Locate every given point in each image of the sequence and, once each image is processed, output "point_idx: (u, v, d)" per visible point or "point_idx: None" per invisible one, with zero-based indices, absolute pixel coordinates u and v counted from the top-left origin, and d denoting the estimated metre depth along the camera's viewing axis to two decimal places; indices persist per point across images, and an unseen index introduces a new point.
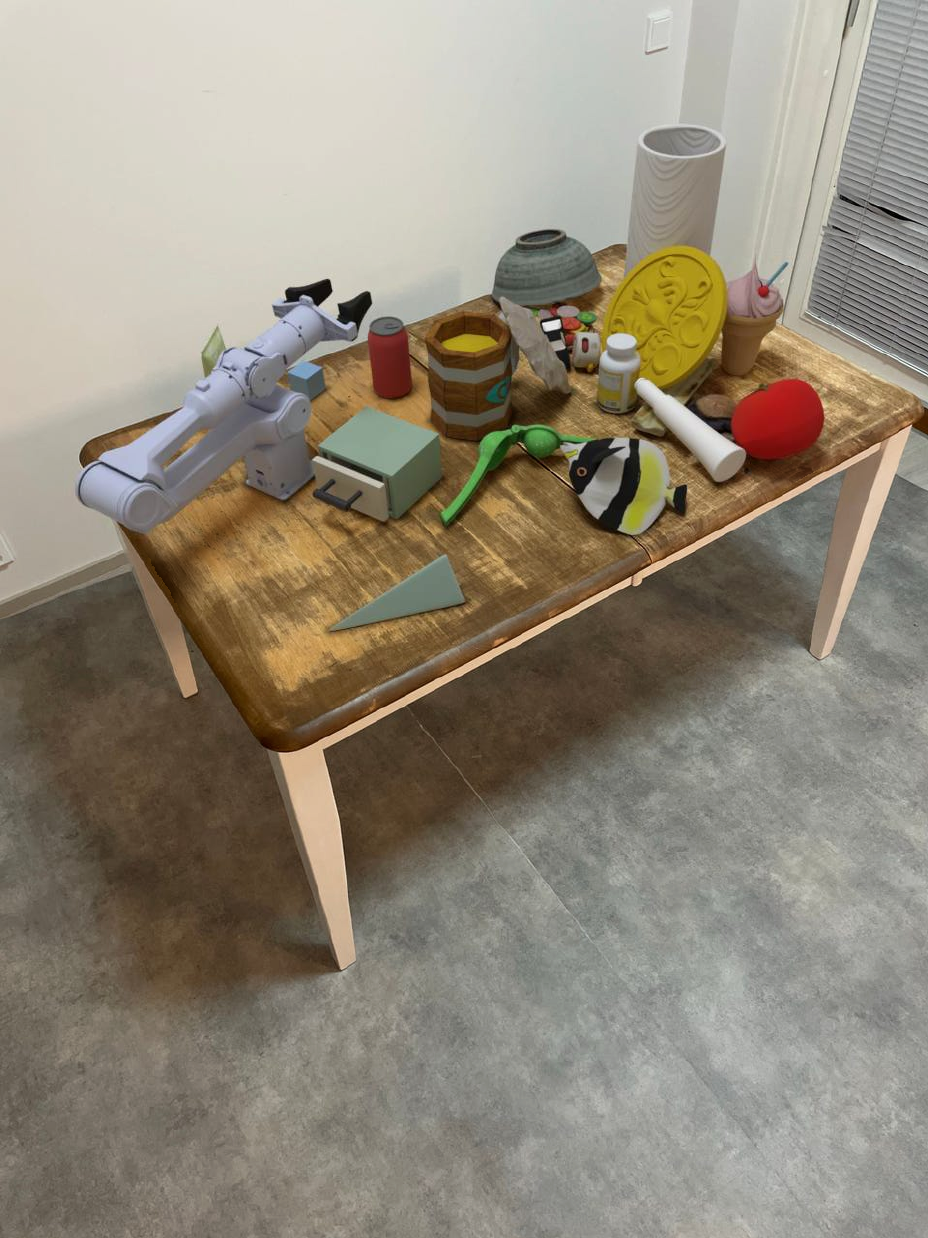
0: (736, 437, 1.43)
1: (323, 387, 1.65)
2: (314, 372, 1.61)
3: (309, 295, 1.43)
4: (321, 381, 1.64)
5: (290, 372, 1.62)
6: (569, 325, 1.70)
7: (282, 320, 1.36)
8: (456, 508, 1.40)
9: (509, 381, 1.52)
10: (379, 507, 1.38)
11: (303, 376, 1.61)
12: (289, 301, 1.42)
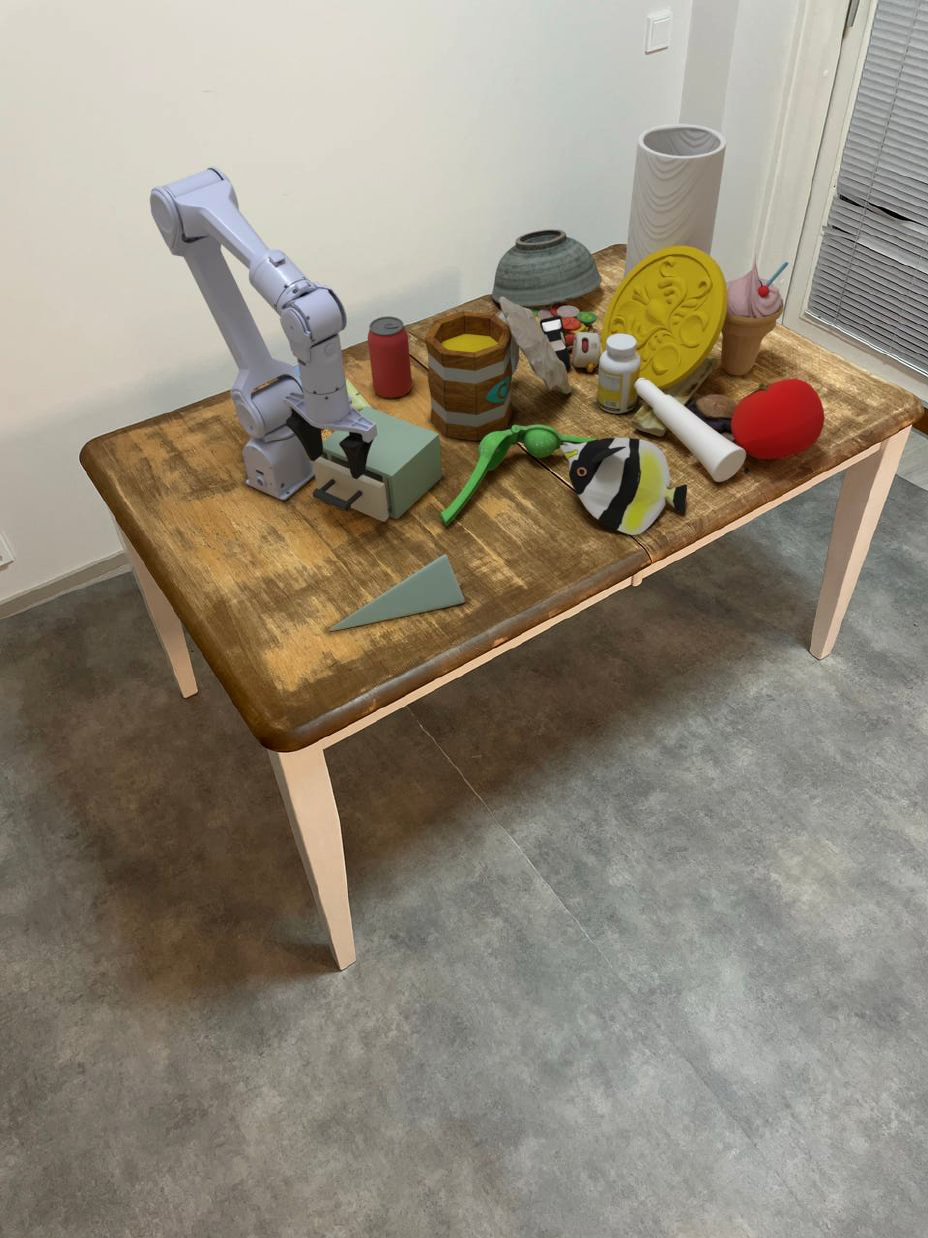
0: (736, 437, 1.43)
1: None
2: None
3: (316, 426, 1.34)
4: None
5: None
6: (569, 325, 1.70)
7: None
8: (456, 508, 1.40)
9: (509, 381, 1.52)
10: (379, 507, 1.38)
11: None
12: None
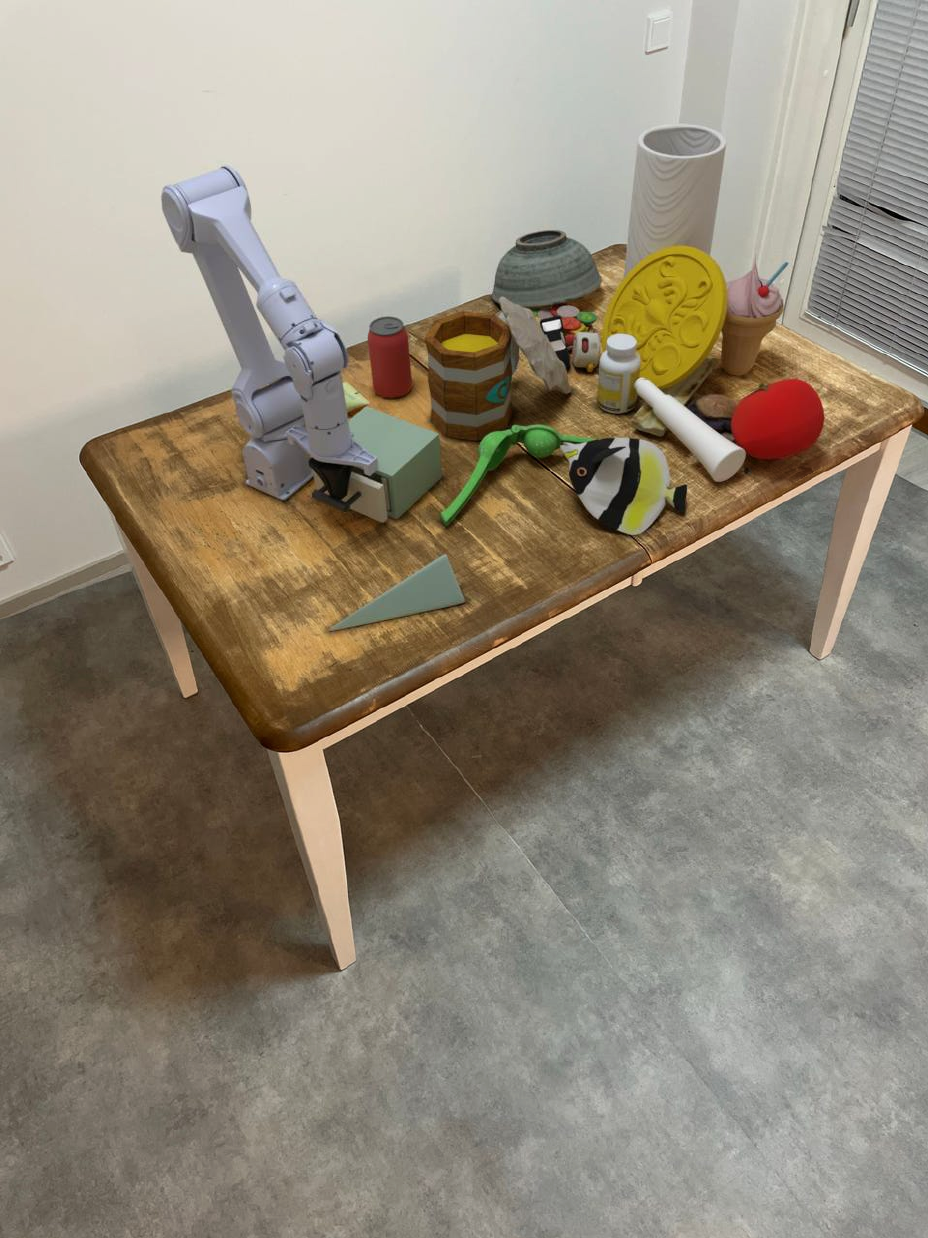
0: (736, 437, 1.43)
1: None
2: None
3: None
4: None
5: None
6: (569, 325, 1.70)
7: None
8: (456, 508, 1.40)
9: (509, 381, 1.52)
10: (378, 508, 1.38)
11: None
12: None
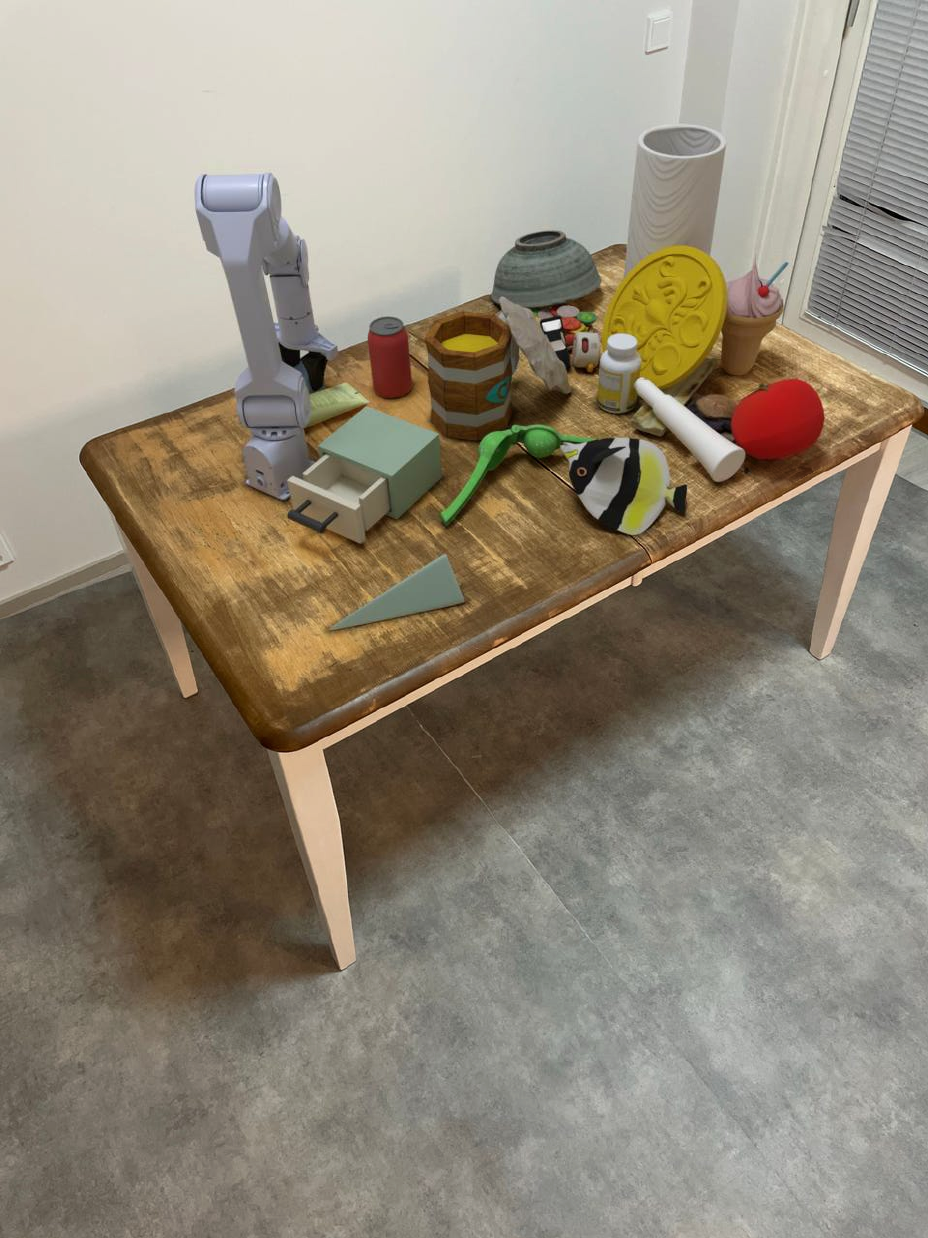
0: (736, 437, 1.43)
1: (323, 387, 1.65)
2: None
3: (296, 353, 1.62)
4: None
5: None
6: (569, 325, 1.70)
7: None
8: (456, 508, 1.40)
9: (509, 381, 1.52)
10: (355, 529, 1.35)
11: (302, 376, 1.61)
12: None
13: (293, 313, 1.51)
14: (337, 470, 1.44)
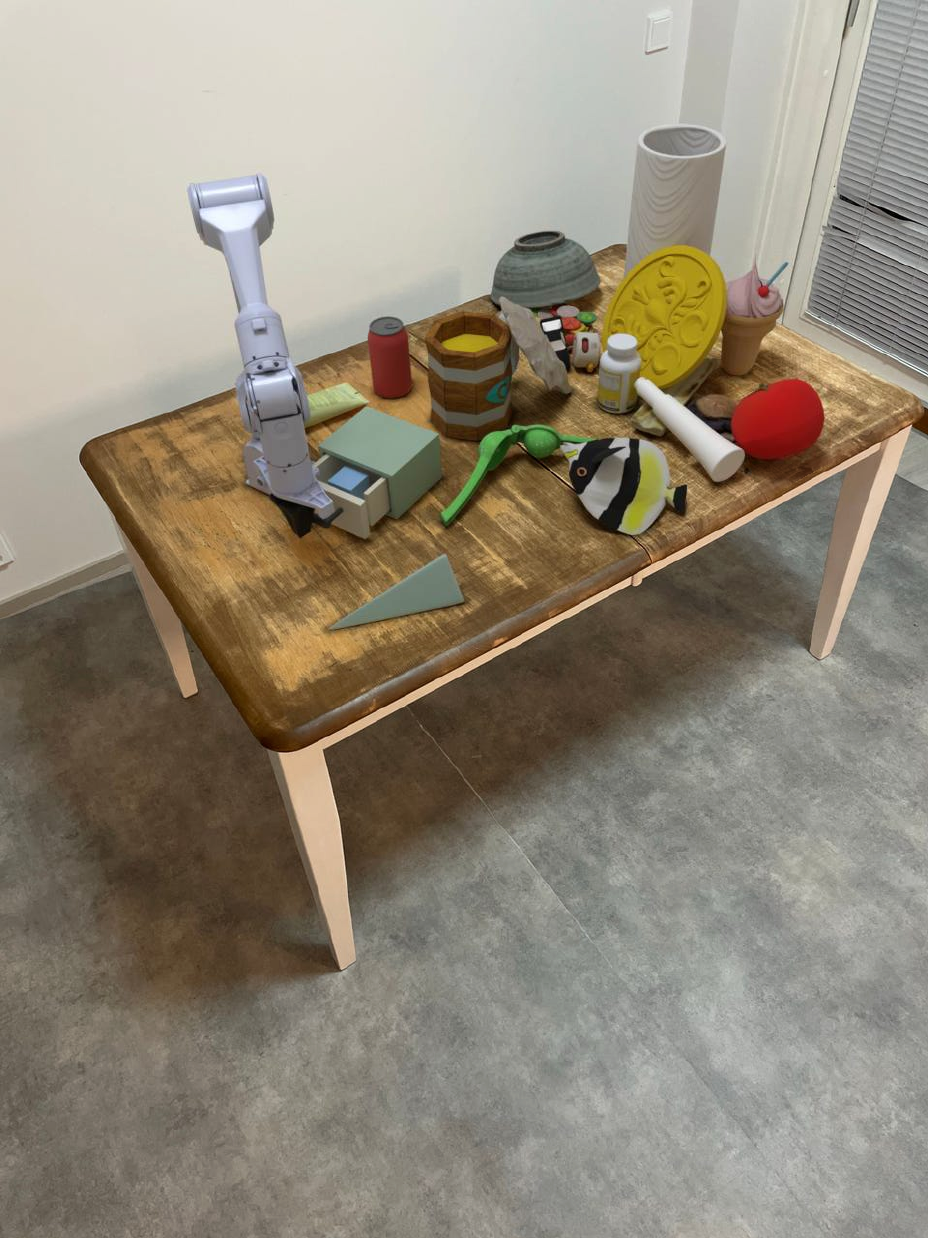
0: (736, 437, 1.43)
1: None
2: (360, 481, 1.38)
3: None
4: None
5: (331, 481, 1.38)
6: (569, 325, 1.70)
7: None
8: (456, 508, 1.40)
9: (509, 381, 1.52)
10: (360, 524, 1.36)
11: (346, 486, 1.37)
12: None
13: None
14: (342, 466, 1.45)
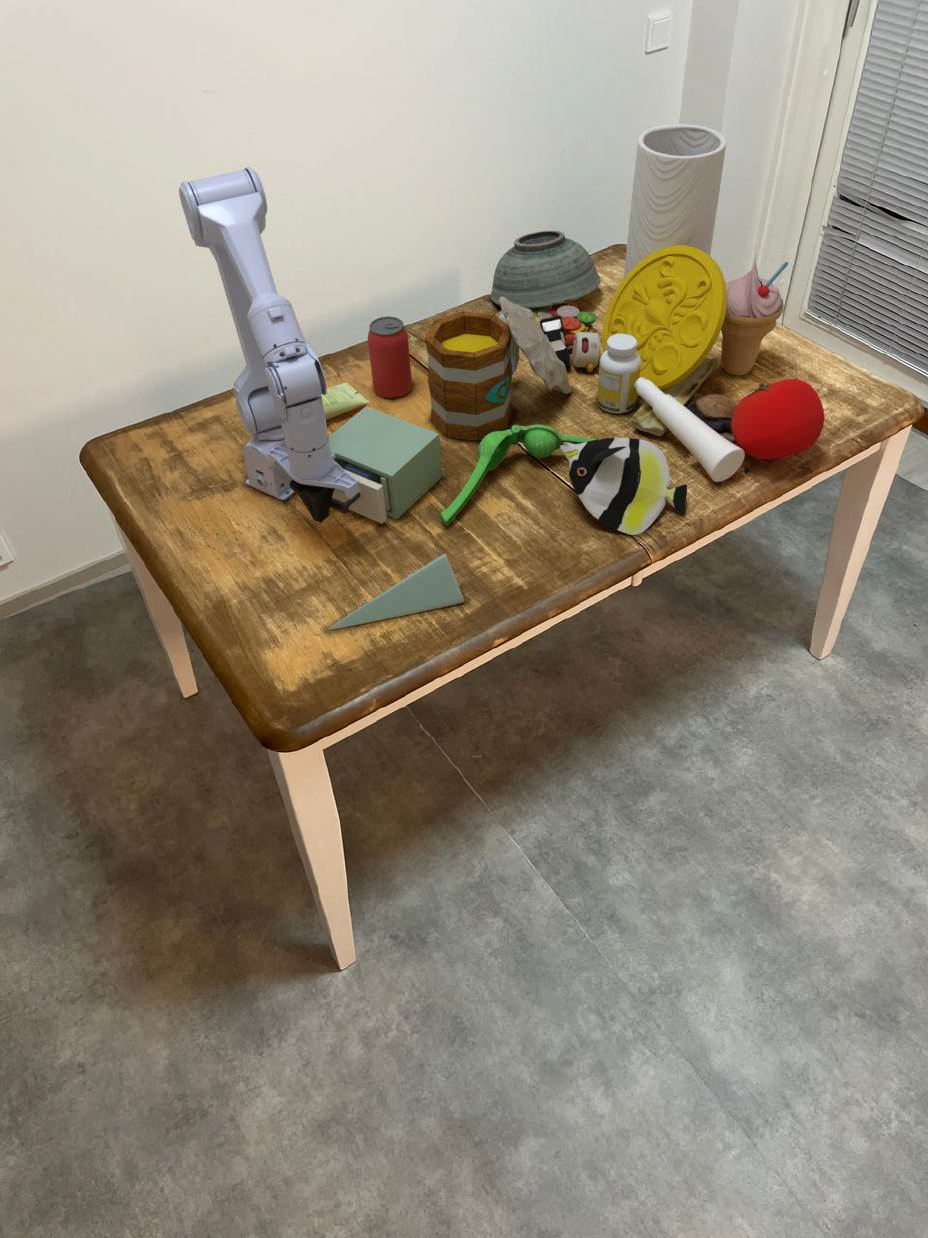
0: (736, 437, 1.43)
1: None
2: None
3: None
4: None
5: (348, 466, 1.40)
6: (569, 325, 1.70)
7: None
8: (456, 508, 1.40)
9: (509, 381, 1.52)
10: (377, 509, 1.38)
11: (363, 471, 1.40)
12: None
13: None
14: None
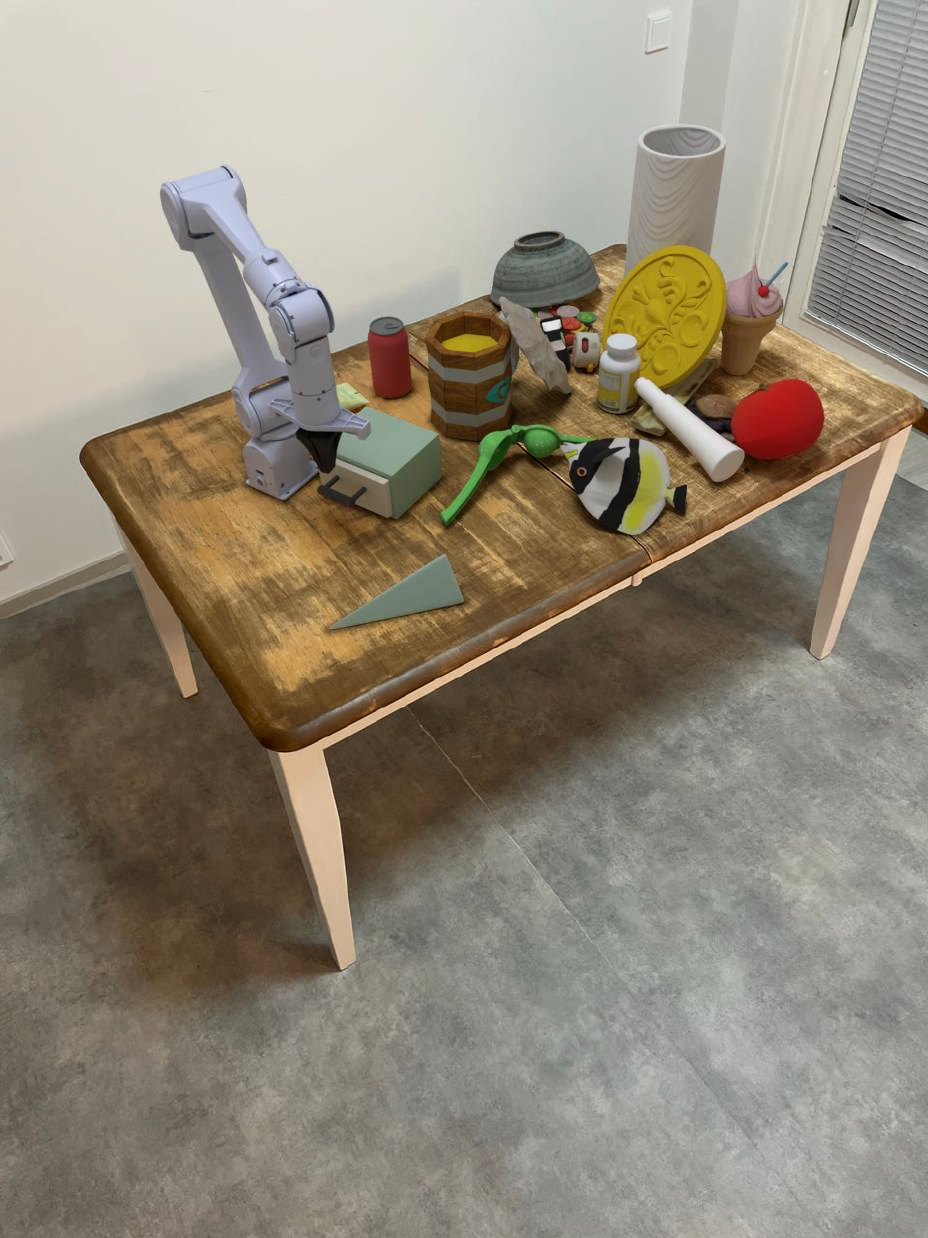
0: (736, 437, 1.43)
1: None
2: None
3: None
4: None
5: None
6: (569, 325, 1.70)
7: None
8: (456, 508, 1.40)
9: (509, 381, 1.52)
10: (383, 503, 1.39)
11: None
12: None
13: None
14: None
